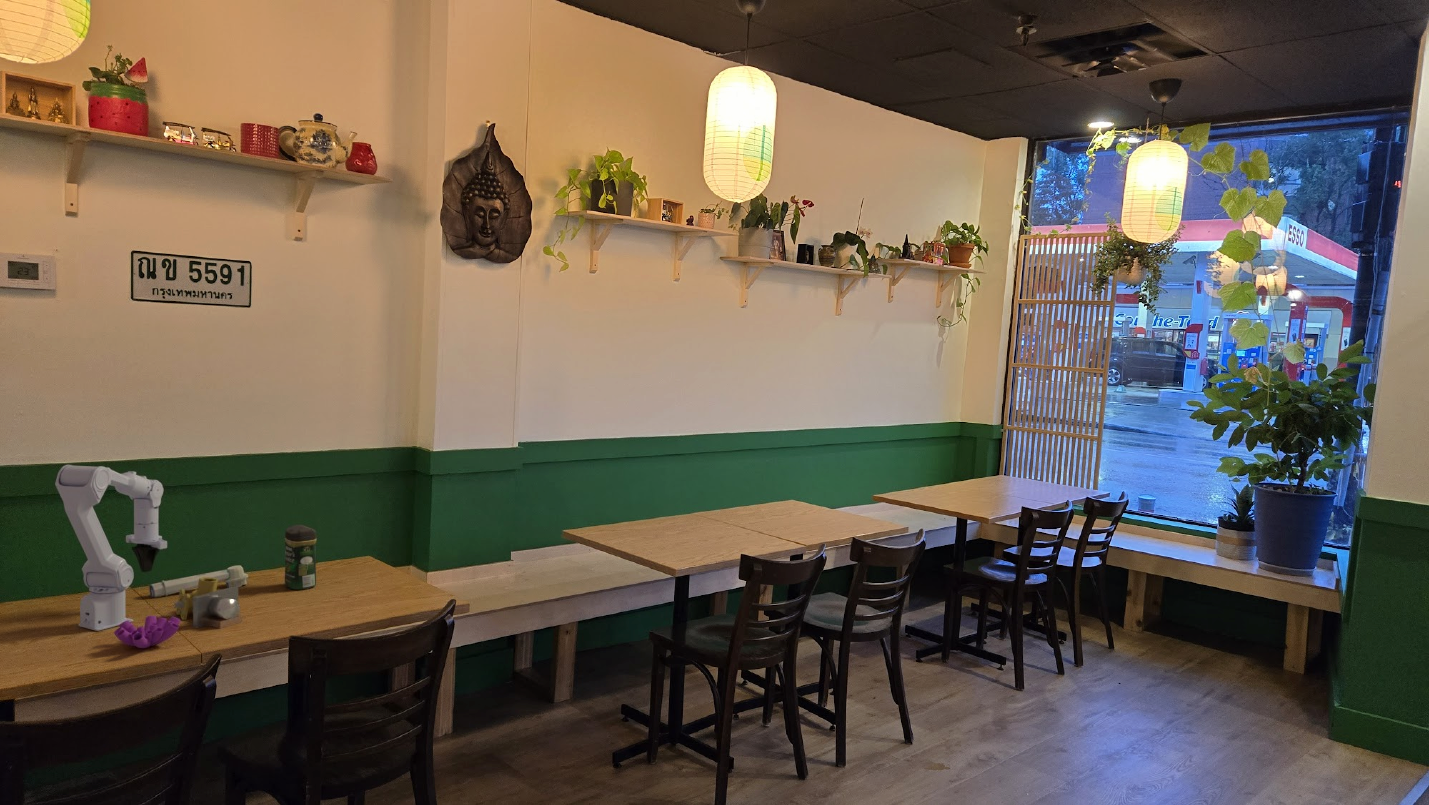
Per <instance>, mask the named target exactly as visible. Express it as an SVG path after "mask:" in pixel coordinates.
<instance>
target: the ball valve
mask: <svg viewBox="0 0 1429 805" xmlns="http://www.w3.org/2000/svg"><path fill="white" fill-rule="evenodd" d="M218 584H219V582H218V580H217V579H216V578H212V577H202V578H199V583H198V587H197V588H196V589H195V590H193V591H191V593H190V594H189V593H186V590H184V589H180V592H179V595H178V600H176V601H175V603H174V609H175V610H176V611H175V612H176V613H175V614H176V615H177V616H180V620H182V621H186V620H187V617H188V612H189V611H190V612H193V597H195V596H199V595H203V594H207V593H210V592H214V591H217V589H218Z"/></svg>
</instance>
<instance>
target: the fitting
mask: <svg viewBox="0 0 1429 805" xmlns="http://www.w3.org/2000/svg"><path fill="white" fill-rule="evenodd" d="M240 611H241V605H240V602H239V587H235V586H234V587H230V588H227V587H225V588H221V589H218V590H216V591H214V592H210V593H207V594H203V595H199V596H195V597H193V611H192V615H193V616H192V618H193V620H192V621H193V623H192V627H193V628H196V629H199V628H202V627H206V626H209V627H212V626H213V628H217V629H223V628H227V627H230V626H233V625H236V624H237V625H238V624H239V623H243V615H242V614H239V613H240Z"/></svg>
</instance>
